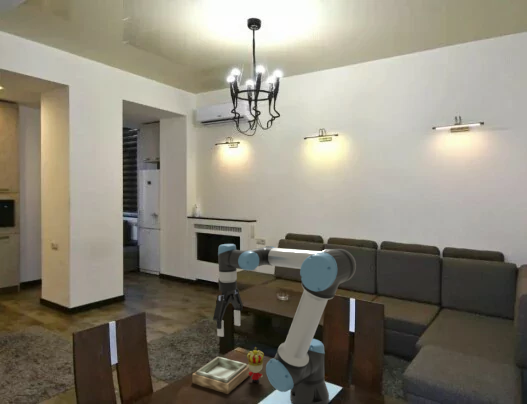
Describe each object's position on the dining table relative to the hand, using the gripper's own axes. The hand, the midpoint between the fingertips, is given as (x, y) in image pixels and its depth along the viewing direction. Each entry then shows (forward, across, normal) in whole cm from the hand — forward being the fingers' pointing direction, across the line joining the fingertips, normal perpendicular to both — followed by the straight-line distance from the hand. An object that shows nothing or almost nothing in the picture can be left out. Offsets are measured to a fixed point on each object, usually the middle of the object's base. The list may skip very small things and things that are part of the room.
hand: (229, 330), depth 153 cm
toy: (+23, -6, +9) cm, 25 cm away
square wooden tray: (+22, -2, -5) cm, 23 cm away
